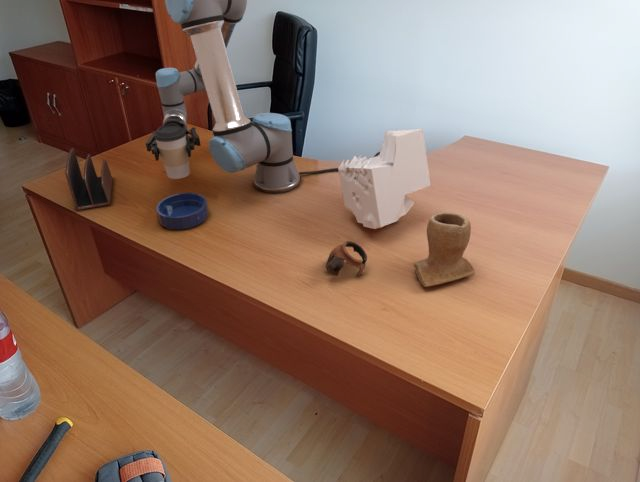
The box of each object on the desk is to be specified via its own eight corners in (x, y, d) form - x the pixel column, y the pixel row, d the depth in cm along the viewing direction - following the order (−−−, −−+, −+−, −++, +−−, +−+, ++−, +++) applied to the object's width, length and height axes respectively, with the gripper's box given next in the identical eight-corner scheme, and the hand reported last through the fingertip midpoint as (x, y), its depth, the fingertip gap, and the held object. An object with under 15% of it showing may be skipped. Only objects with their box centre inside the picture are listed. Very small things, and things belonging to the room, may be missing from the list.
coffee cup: (185, 181, 146) (175, 134, 137) (158, 179, 147) (146, 132, 139) (198, 168, 153) (189, 122, 144) (171, 166, 155) (161, 121, 146)
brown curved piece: (334, 255, 129) (350, 233, 125) (359, 279, 127) (377, 258, 123) (309, 269, 120) (326, 246, 115) (337, 296, 117) (355, 274, 113)
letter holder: (76, 211, 152) (62, 170, 144) (82, 183, 167) (69, 144, 159) (110, 205, 154) (97, 164, 146) (112, 178, 170) (101, 140, 162)
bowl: (211, 204, 153) (209, 191, 150) (204, 229, 141) (202, 216, 138) (165, 206, 152) (162, 193, 150) (154, 232, 140) (150, 218, 138)
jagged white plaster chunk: (379, 239, 129) (363, 146, 122) (346, 231, 143) (329, 147, 135) (435, 217, 138) (423, 129, 131) (399, 211, 152) (386, 131, 144)
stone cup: (453, 252, 128) (461, 202, 120) (479, 278, 119) (490, 227, 110) (401, 264, 124) (405, 214, 116) (424, 293, 115) (431, 241, 107)
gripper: (209, 133, 164) (211, 161, 145) (143, 140, 160) (137, 170, 142) (205, 112, 159) (207, 138, 141) (138, 118, 156) (131, 146, 138)
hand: (172, 154), depth 141 cm, fingers closed on coffee cup, 9 cm apart
